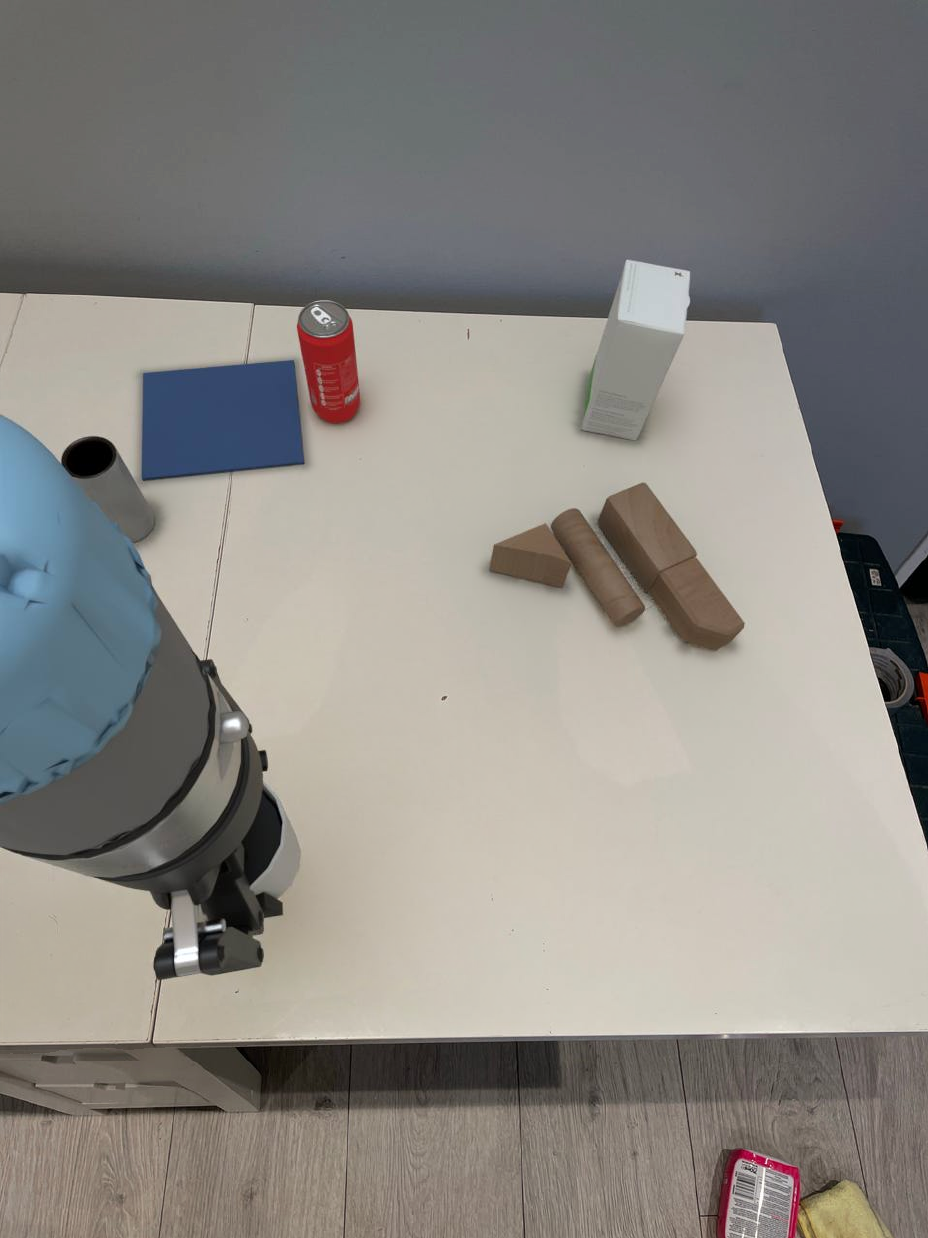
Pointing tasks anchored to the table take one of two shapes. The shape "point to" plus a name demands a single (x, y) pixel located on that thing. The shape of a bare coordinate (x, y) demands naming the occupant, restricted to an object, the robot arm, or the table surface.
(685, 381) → the table surface
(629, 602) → the wooden block set
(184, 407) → the cloth mat
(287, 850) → the white cup
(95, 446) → the gray tube
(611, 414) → the cosmetic box
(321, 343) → the beverage can
